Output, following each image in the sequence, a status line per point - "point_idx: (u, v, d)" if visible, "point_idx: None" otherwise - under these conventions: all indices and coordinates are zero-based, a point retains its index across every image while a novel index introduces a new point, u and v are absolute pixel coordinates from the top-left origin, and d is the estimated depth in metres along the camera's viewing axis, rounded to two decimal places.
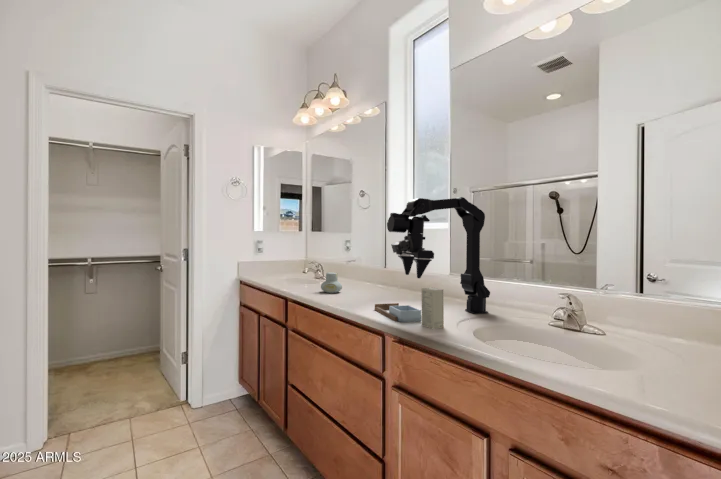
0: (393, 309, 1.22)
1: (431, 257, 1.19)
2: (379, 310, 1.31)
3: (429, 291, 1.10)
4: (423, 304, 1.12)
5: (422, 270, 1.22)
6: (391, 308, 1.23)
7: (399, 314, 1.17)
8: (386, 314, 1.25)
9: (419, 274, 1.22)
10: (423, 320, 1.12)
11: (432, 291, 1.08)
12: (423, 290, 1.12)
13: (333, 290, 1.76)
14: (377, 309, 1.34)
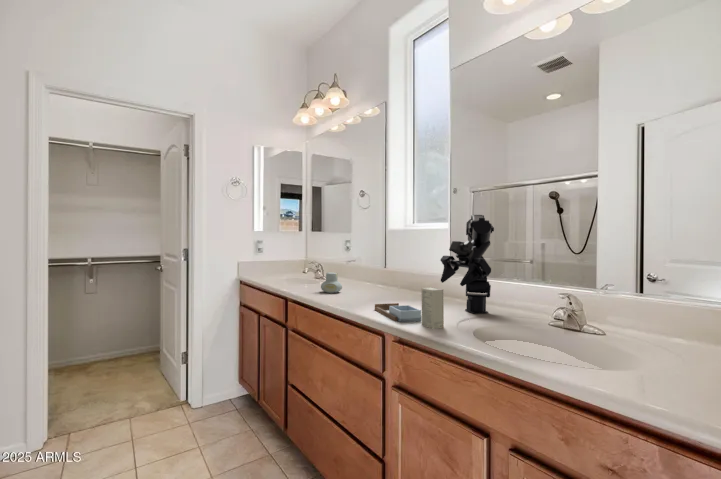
0: (393, 309, 1.22)
1: (488, 272, 1.11)
2: (379, 310, 1.31)
3: (429, 291, 1.10)
4: (423, 304, 1.12)
5: (469, 280, 1.12)
6: (391, 308, 1.23)
7: (399, 314, 1.17)
8: (386, 314, 1.25)
9: (464, 281, 1.12)
10: (423, 320, 1.12)
11: (432, 291, 1.08)
12: (423, 290, 1.12)
13: (333, 290, 1.76)
14: (377, 309, 1.34)
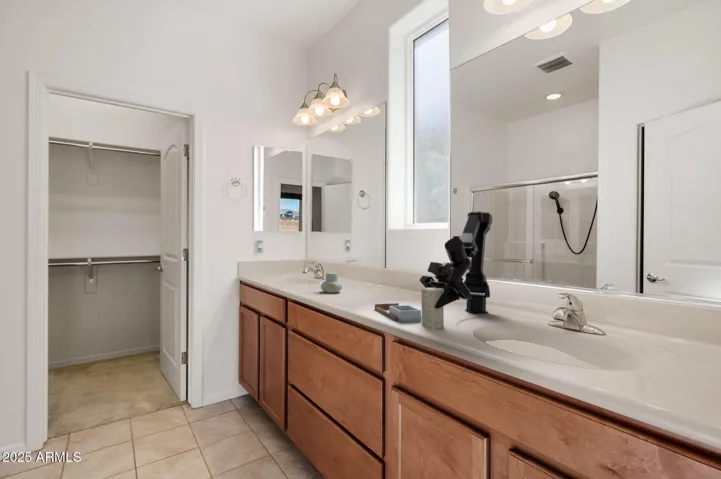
0: (393, 309, 1.22)
1: (466, 296, 1.06)
2: (379, 310, 1.31)
3: (429, 291, 1.10)
4: (423, 304, 1.12)
5: (444, 303, 1.09)
6: (391, 308, 1.23)
7: (399, 314, 1.17)
8: (386, 314, 1.25)
9: (439, 304, 1.08)
10: (423, 320, 1.12)
11: (432, 291, 1.08)
12: (423, 290, 1.12)
13: (333, 290, 1.76)
14: (377, 309, 1.34)
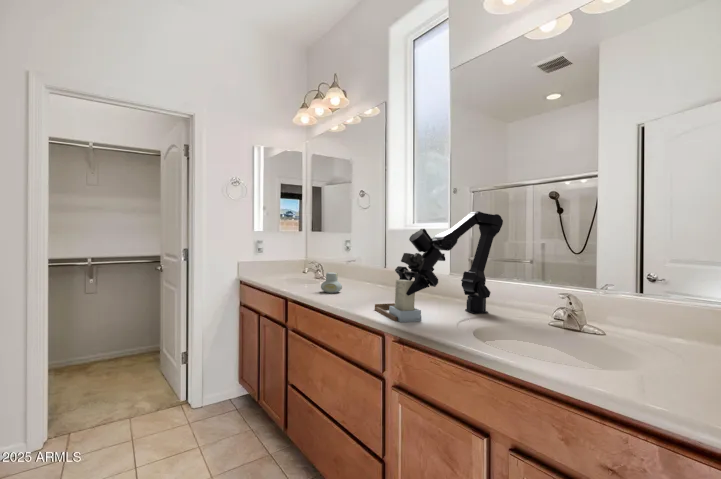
0: (393, 309, 1.22)
1: (435, 283, 1.16)
2: (379, 310, 1.31)
3: (402, 282, 1.20)
4: (396, 294, 1.22)
5: (415, 290, 1.19)
6: (391, 308, 1.23)
7: (399, 314, 1.17)
8: (386, 314, 1.25)
9: (410, 291, 1.18)
10: None
11: (405, 282, 1.19)
12: (397, 281, 1.23)
13: (333, 290, 1.76)
14: (377, 309, 1.34)
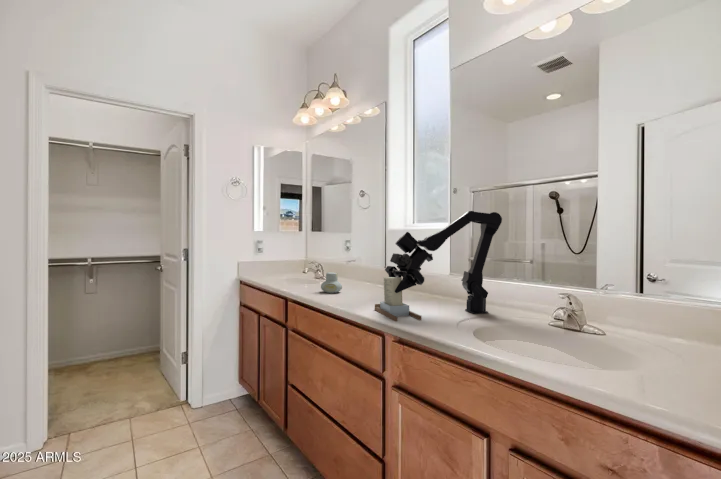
0: (383, 304, 1.30)
1: (421, 282, 1.25)
2: (379, 310, 1.31)
3: (389, 279, 1.29)
4: (385, 291, 1.31)
5: (403, 288, 1.28)
6: (382, 303, 1.32)
7: (389, 309, 1.25)
8: (386, 314, 1.25)
9: (398, 289, 1.27)
10: None
11: (392, 279, 1.28)
12: (385, 279, 1.31)
13: (333, 290, 1.76)
14: (377, 309, 1.34)
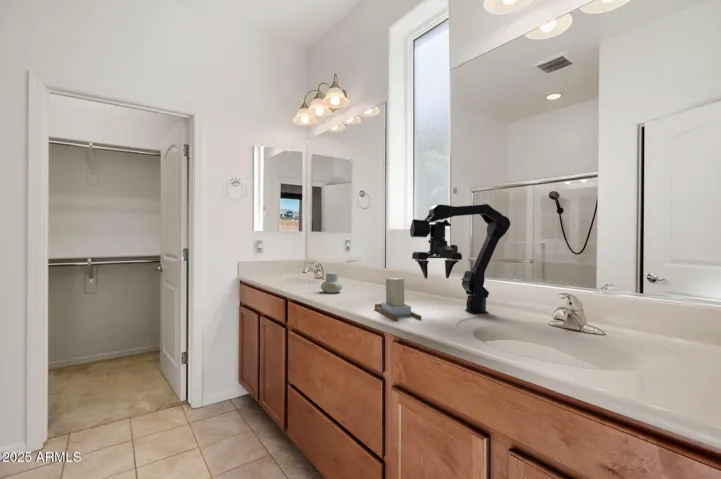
0: (385, 305, 1.29)
1: None
2: (379, 310, 1.31)
3: (392, 280, 1.27)
4: (387, 292, 1.30)
5: None
6: (383, 304, 1.31)
7: (390, 309, 1.24)
8: (386, 314, 1.25)
9: None
10: None
11: (394, 280, 1.26)
12: (387, 279, 1.30)
13: (333, 290, 1.76)
14: (377, 309, 1.34)
